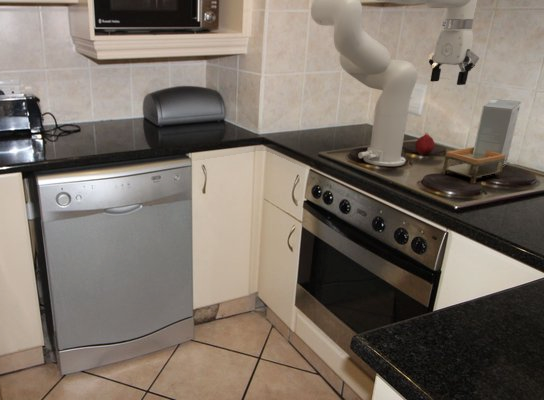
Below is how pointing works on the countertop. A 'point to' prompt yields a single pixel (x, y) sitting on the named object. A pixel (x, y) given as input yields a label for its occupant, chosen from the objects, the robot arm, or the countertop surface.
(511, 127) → the hard drive box
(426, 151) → the onion
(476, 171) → the rack
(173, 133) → the countertop surface
